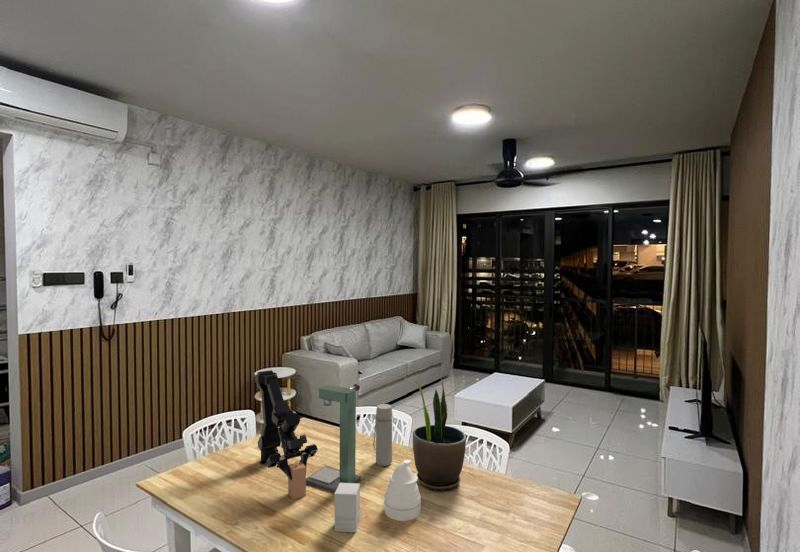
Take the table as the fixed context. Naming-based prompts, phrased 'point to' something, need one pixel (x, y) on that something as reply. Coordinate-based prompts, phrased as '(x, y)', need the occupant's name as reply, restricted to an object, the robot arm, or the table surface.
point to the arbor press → (346, 474)
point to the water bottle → (383, 434)
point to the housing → (297, 480)
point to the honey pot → (402, 494)
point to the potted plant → (438, 449)
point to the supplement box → (347, 507)
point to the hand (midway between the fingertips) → (298, 477)
